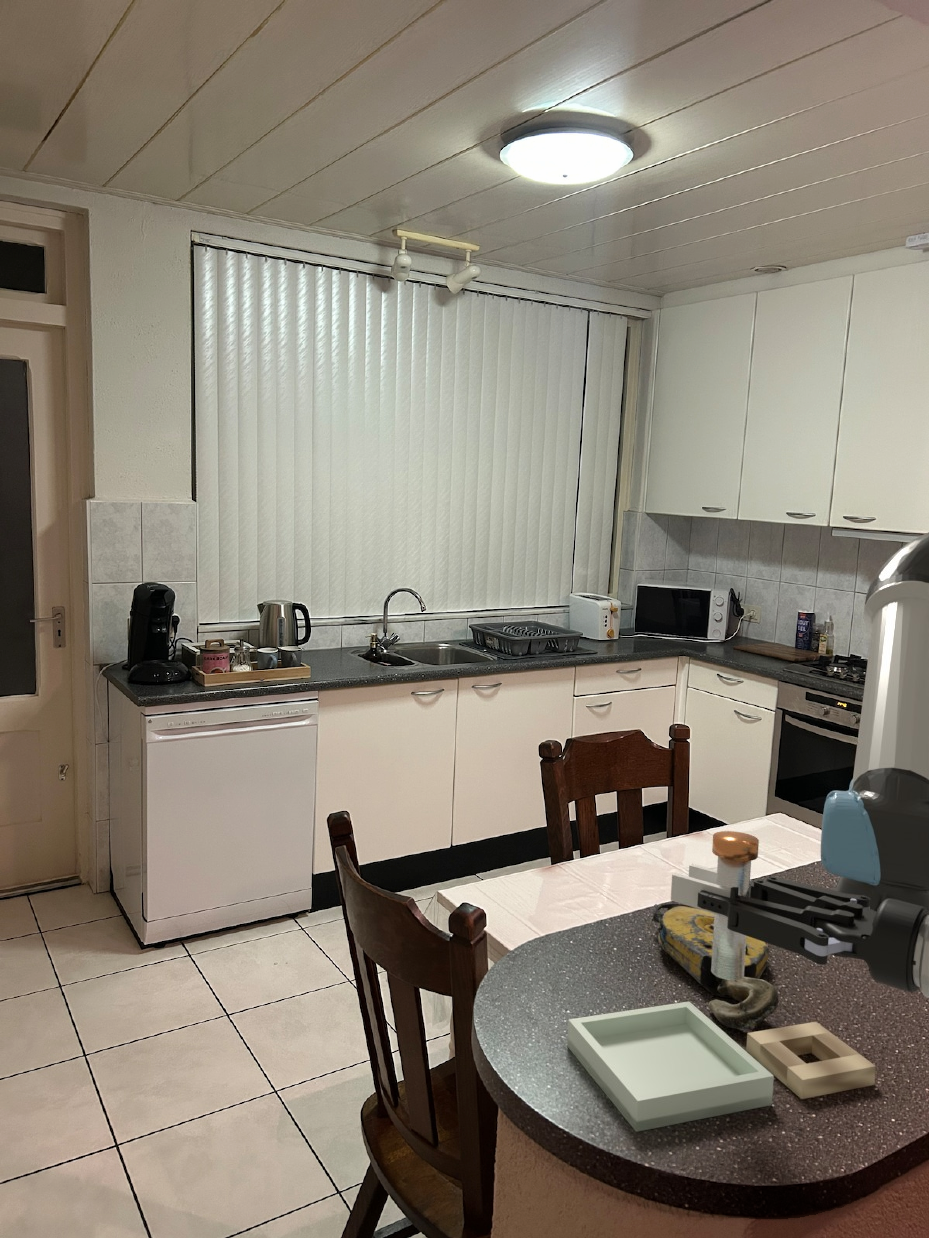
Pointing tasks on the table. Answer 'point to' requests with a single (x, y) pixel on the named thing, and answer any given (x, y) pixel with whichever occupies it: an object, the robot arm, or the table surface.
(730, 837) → the steel pin
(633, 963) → the table surface
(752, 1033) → the bracket
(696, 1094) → the pale green tray
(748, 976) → the pulley block
